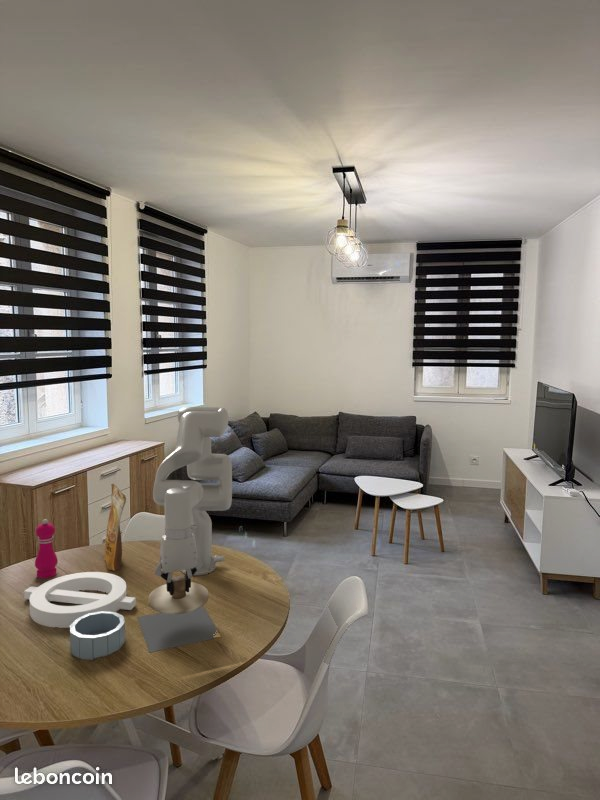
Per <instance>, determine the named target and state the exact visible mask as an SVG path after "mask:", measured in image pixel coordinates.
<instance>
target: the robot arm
mask: <svg viewBox="0 0 600 800" xmlns="http://www.w3.org/2000/svg"><path fill="white" fill-rule="evenodd" d="M177 421H178V423H179V424H178V430H177V436H176V441H175V442H176V443H175V449H174V451H172V452H171V453H170V454H169V455H167V456H166V457H165V459H164V460H162V462H161V463H160V464H159V466H158V468H157V470H156V473H155V478H154V483H153V488H152V499H153V501H154V503H155V504H156V505H158V506H163V507H164V535H162V536H161V540H160V546H159V547H160V548H159V562H158V564H157V565H156V566H155V568H154V570H153V573H154V575H156V576H158V577H161V578H162V579H163V580H164V581H166V584H167V592H169V593H170V595H173V581H172V578H173V574H174V573H175V572H182V573H183V574H184V576H183V577H185V578H186V592H189V588H191V582H192V579H193V576H195V577H196V576H204V575H208V573H209V574H210V573H213V572H214V571H215V570H216V569H217V567H216V566H217V564H216V563H220V562H225V556H224V555H219V554H215V555H213V554H212V545H213V544H212V542H213V541H212V538H213V537H212V536H213V535H212V533H213V531H212V529H213V527H212V525H213V523H212V519H211V516H209V514H208V513H207V511H210V512H211V511H213V512H214V511H215V512H216V511H217V512H218V511H219V512H222V511H227V510H229V509H230V508H231V506H232V502H233V501H232V500H233V499H232V497H233V464H232V459H231V457H230V456H229V455H228V454H225V453H212V439H211V438H221V437H223V435H225V432H226V430H227V428H228V426H229V413H228V411H227V409H226V408H225V407H217V406H216V407H214V406H209V407H208V406H187V407H185V406H184V407H181V408H180V409H179V410H178V411H177ZM185 466H186V473H187V476H188V478H189V479H191V480H181V479H168V477H169V475H171V473H174V471H177V470H178V469H180V468H183V467H185ZM199 481H217V482H218V483H204V482H203V483H200V482H199ZM212 571H213V572H212Z"/></svg>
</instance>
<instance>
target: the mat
mask: <svg viewBox="0 0 600 800" xmlns="http://www.w3.org/2000/svg"><path fill="white" fill-rule="evenodd" d="M137 620H138V623H139V626H140V629H141V633H142V635H143V638H144V640H145V643H146V647H147V649H148V652H149V653H155V652H159V651H163V650H167V649H172V648H173V649H174V648H178V647H181V646H187V645H191V644H195V643H201V642H204V641H209V640H214V639H213V638H214V637H213V636H215V635H216V634H215V632H216V630H217V631H219V630H218V628H217V626H216V625H215V623H214V621H213V620H212V617H211V616H210V614H209V613H208V611H207V609H206V608H205V605H204V606H202V607H201V608H199V609H197V610H195V611H192V612H188V613H183V614H164V613H160V612H157V613H152V614H148V615H142V616H138V617H137ZM216 633H217V632H216ZM213 634H215V635H213Z"/></svg>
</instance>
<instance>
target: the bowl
mask: <svg viewBox="0 0 600 800" xmlns="http://www.w3.org/2000/svg"><path fill="white" fill-rule="evenodd" d="M69 641H70V642H69V643H70V645H69V647H70V653H71V655H72V654H73V655H72V656H74V657H76V658H77V657H78V658H77V659H79V658H81V659H80V660H89V659H90V660H94V659H96V658H100V657H106V656H109V655H111V654H113V653H115V652H116V651H118V650H120V649H121V648H122V646H123V645H124V644H125V643H126V621H125V617H124V615H123V614H121V613H118V612H109V611H99V612H94V613H89V614H86V615H84V616H82V617H79V618H77V619H76V620H75V621H74V622H73V623H72V624H71V625H70V628H69ZM90 660H89V661H90Z"/></svg>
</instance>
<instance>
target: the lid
mask: <svg viewBox="0 0 600 800" xmlns="http://www.w3.org/2000/svg"><path fill="white" fill-rule="evenodd" d="M172 581H173V595H170V593H169V592H167V583H165V584H162V585H160V586H158V587H156V588H154V589H153V590H151V592H150V593H149V595H148V605H149V607H150V608H151V609H152V610H154V611H156V612H157V613H164V614H183V613H188V612H192V611H195V610H197V609H199V608H201V607H202V606H204V607H205V605H206V604H207V602H208V601H209V596H210V595H209V591H208V589H207V588H206V586H204V585H203V584H200V583H196V582H194V581H193V582H192V581H191V588H189V592H186V578H185V577H184V576H183V575H178V576H174V577H172Z"/></svg>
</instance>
